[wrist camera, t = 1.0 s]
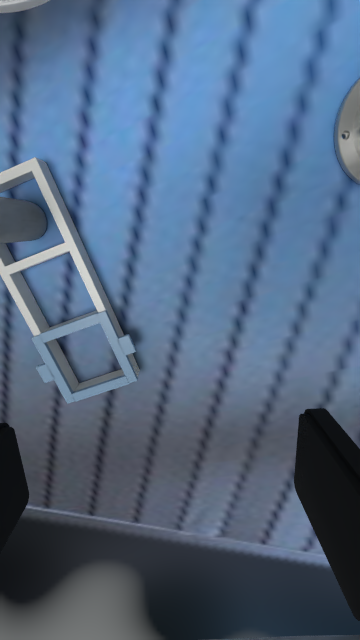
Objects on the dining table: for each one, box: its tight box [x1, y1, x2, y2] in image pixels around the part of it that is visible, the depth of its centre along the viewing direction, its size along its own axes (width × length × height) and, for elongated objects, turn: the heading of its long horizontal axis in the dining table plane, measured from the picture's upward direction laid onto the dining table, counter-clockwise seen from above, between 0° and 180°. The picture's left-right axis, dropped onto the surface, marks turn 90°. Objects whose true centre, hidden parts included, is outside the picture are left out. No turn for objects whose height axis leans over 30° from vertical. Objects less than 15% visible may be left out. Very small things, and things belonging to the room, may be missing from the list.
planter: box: [0, 197, 47, 244], centre depth 31 cm, size 4×4×10 cm
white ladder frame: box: [0, 157, 140, 404], centre depth 37 cm, size 13×28×3 cm, turn 20°
